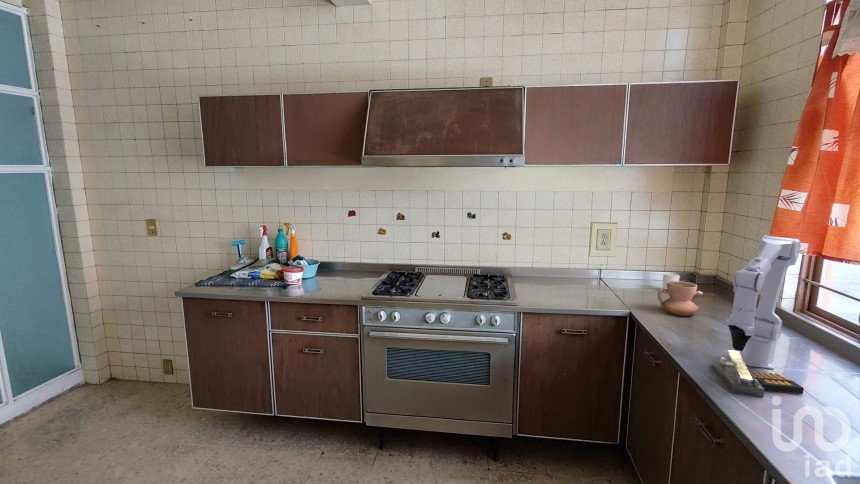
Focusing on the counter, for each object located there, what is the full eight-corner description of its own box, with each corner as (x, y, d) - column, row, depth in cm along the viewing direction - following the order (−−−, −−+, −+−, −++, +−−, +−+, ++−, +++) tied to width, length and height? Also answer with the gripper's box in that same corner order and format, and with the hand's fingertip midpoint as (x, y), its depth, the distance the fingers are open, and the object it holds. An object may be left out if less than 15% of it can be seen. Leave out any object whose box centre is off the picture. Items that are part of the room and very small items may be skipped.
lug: (720, 362, 141) (720, 356, 141) (739, 365, 139) (740, 359, 139) (721, 364, 139) (722, 359, 139) (742, 367, 137) (742, 361, 137)
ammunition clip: (803, 393, 126) (777, 376, 138) (804, 387, 126) (778, 370, 138) (763, 389, 128) (741, 373, 140) (763, 384, 128) (742, 367, 140)
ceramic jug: (696, 310, 201) (699, 281, 199) (703, 320, 188) (706, 289, 186) (654, 306, 208) (656, 278, 206) (657, 315, 195) (660, 285, 192)
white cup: (658, 290, 235) (660, 273, 233) (669, 289, 237) (671, 272, 236) (669, 294, 228) (672, 276, 226) (681, 293, 230) (683, 275, 228)
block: (712, 364, 145) (713, 353, 144) (739, 368, 142) (741, 356, 141) (731, 392, 127) (733, 378, 126) (763, 397, 124) (765, 383, 124)
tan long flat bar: (727, 352, 139) (727, 349, 139) (737, 353, 138) (738, 350, 138) (741, 382, 127) (742, 379, 126) (753, 384, 126) (754, 381, 125)
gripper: (721, 300, 140) (716, 339, 143) (737, 314, 127) (730, 356, 129) (746, 302, 138) (740, 342, 141) (765, 317, 125) (758, 360, 127)
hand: (737, 349), depth 135 cm, fingers closed
